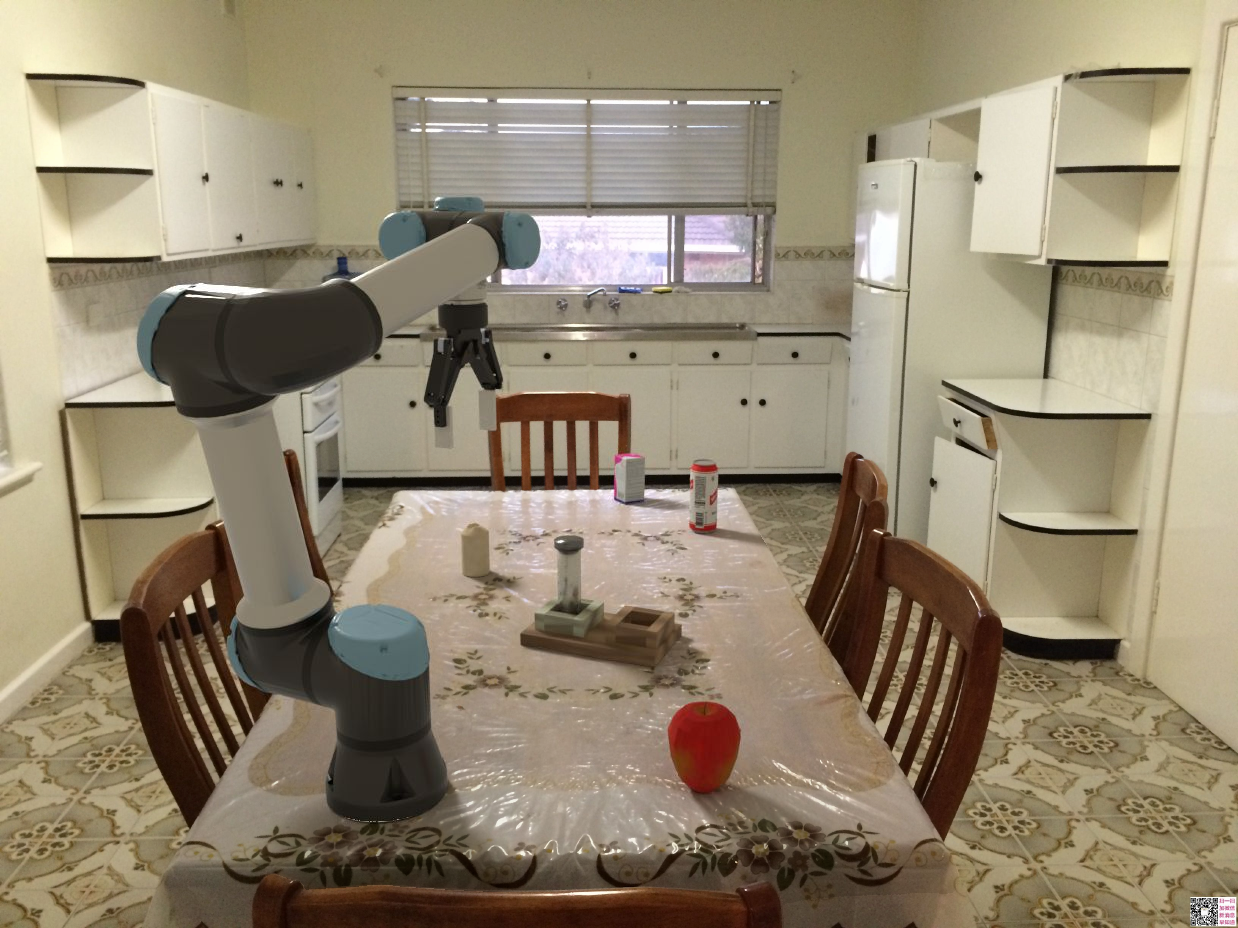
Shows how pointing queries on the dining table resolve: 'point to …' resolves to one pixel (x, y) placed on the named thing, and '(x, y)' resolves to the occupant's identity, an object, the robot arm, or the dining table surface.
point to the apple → (704, 744)
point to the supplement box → (629, 478)
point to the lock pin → (569, 573)
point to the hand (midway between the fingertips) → (467, 438)
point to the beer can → (703, 496)
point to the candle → (475, 551)
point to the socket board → (604, 632)
